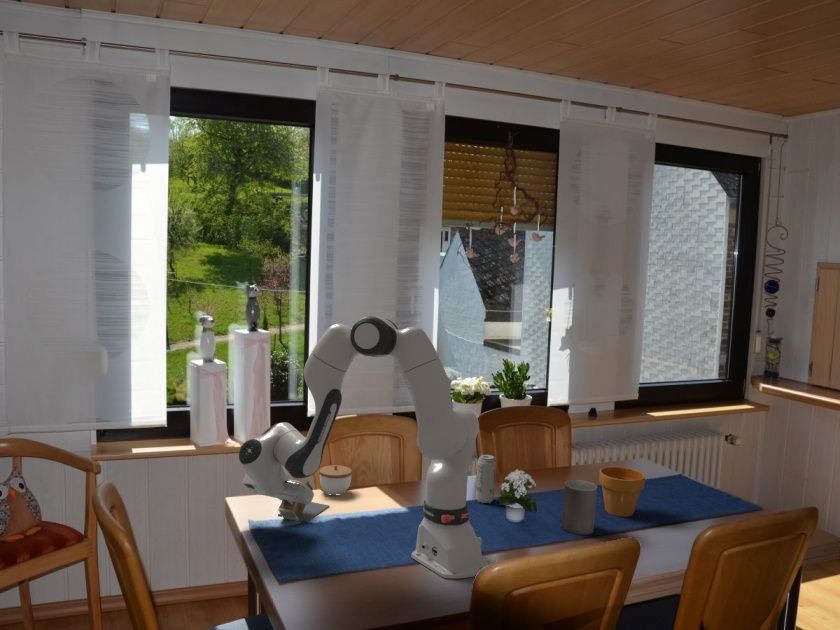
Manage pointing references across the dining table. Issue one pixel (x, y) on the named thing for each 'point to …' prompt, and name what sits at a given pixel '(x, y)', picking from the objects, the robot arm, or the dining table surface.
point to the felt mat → (311, 511)
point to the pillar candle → (579, 507)
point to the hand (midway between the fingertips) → (289, 501)
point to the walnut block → (293, 506)
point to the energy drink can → (485, 479)
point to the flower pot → (621, 489)
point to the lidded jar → (335, 479)
